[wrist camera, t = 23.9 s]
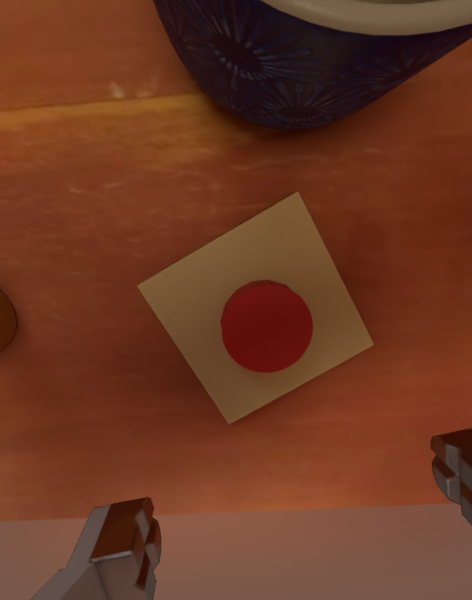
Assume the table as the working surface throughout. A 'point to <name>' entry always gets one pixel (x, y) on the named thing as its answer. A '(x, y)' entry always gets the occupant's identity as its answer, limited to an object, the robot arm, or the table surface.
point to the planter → (309, 52)
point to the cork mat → (240, 271)
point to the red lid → (266, 326)
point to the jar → (6, 321)
